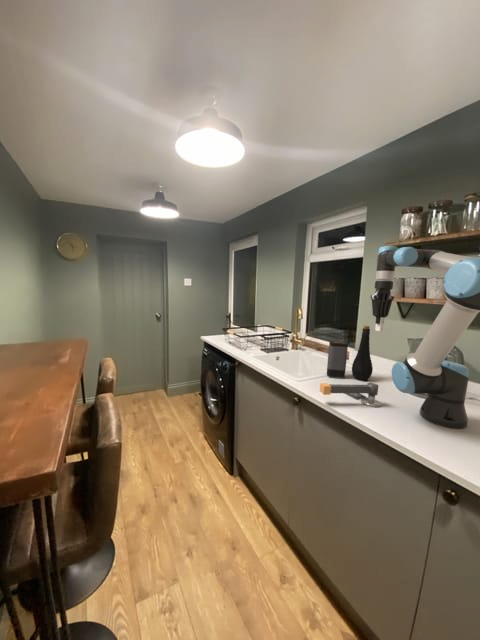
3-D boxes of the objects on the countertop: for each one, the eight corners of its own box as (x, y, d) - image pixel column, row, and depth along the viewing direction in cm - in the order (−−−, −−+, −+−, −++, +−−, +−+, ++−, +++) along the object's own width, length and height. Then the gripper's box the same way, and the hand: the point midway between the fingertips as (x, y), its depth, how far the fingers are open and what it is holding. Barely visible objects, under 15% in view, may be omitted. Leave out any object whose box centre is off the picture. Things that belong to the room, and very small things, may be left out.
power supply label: (366, 398, 125) (366, 396, 125) (356, 399, 123) (356, 398, 123) (353, 391, 133) (353, 390, 133) (343, 393, 130) (343, 391, 130)
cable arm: (373, 391, 122) (374, 382, 121) (379, 395, 117) (380, 386, 117) (319, 391, 118) (320, 382, 118) (323, 395, 114) (324, 386, 114)
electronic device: (342, 375, 157) (345, 341, 155) (345, 379, 152) (348, 343, 149) (325, 374, 158) (328, 340, 156) (328, 377, 152) (331, 342, 150)
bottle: (347, 378, 154) (352, 325, 150) (355, 374, 161) (361, 324, 157) (366, 383, 146) (372, 328, 142) (374, 379, 153) (380, 326, 150)
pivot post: (385, 406, 118) (386, 396, 117) (371, 408, 114) (372, 398, 114) (369, 398, 125) (370, 389, 124) (356, 400, 122) (357, 391, 121)
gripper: (387, 281, 133) (381, 329, 136) (367, 279, 128) (362, 329, 131) (401, 281, 126) (395, 331, 129) (381, 279, 121) (375, 332, 124)
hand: (378, 330), depth 130 cm, fingers closed
